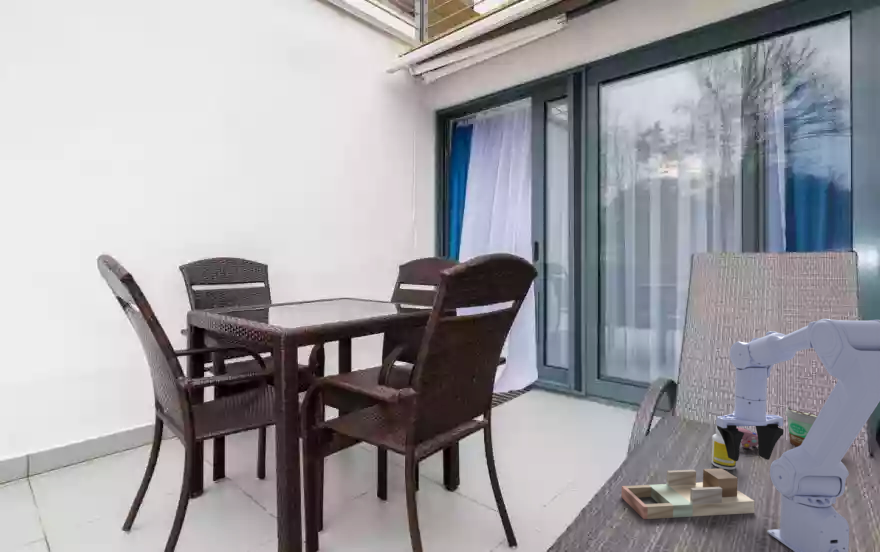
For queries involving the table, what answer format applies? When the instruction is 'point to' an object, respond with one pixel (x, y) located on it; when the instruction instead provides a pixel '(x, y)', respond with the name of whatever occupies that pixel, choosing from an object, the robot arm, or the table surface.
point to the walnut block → (721, 481)
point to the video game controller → (748, 438)
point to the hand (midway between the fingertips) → (748, 458)
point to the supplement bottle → (721, 453)
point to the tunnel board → (683, 498)
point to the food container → (799, 425)
